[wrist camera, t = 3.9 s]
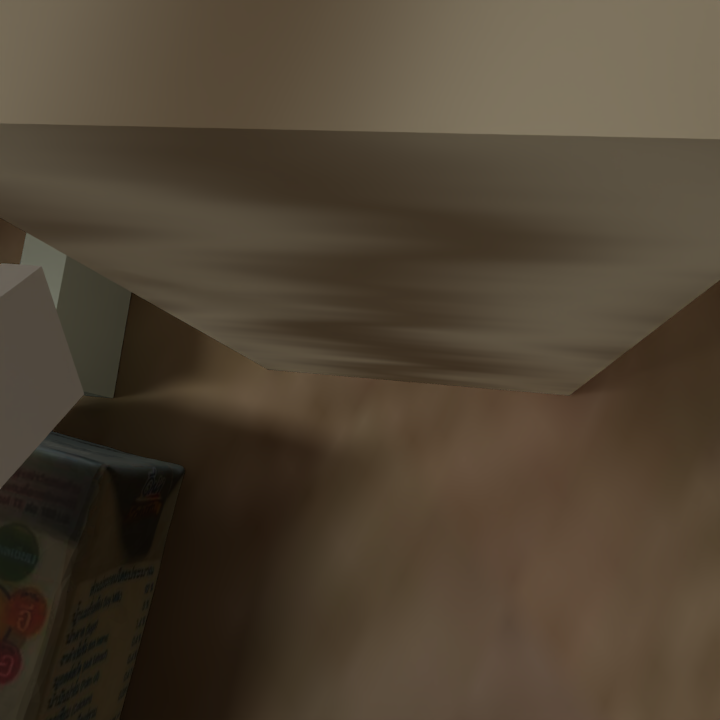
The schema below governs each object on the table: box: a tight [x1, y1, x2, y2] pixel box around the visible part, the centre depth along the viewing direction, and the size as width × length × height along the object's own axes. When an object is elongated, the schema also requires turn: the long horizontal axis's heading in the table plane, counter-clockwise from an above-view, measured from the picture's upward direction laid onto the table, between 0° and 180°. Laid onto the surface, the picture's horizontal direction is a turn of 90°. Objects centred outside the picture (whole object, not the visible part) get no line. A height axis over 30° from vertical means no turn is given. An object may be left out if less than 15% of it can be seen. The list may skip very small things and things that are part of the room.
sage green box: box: [20, 233, 131, 398], centre depth 18 cm, size 24×18×10 cm
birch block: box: [0, 0, 720, 396], centre depth 14 cm, size 10×3×16 cm, turn 84°
